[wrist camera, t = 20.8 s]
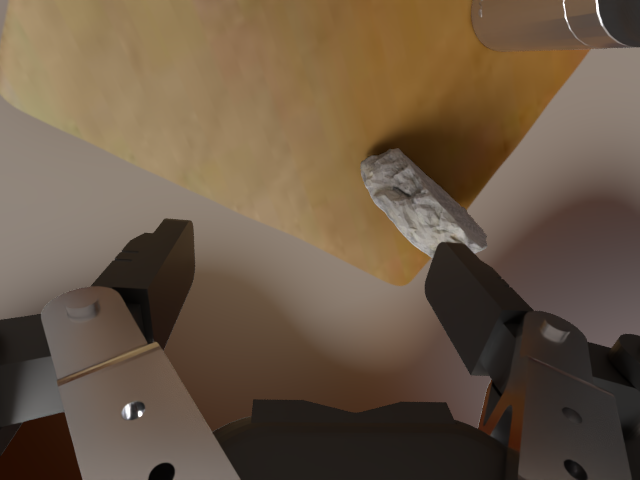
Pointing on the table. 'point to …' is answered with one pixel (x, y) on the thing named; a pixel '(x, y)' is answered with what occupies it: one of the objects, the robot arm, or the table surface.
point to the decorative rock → (418, 204)
